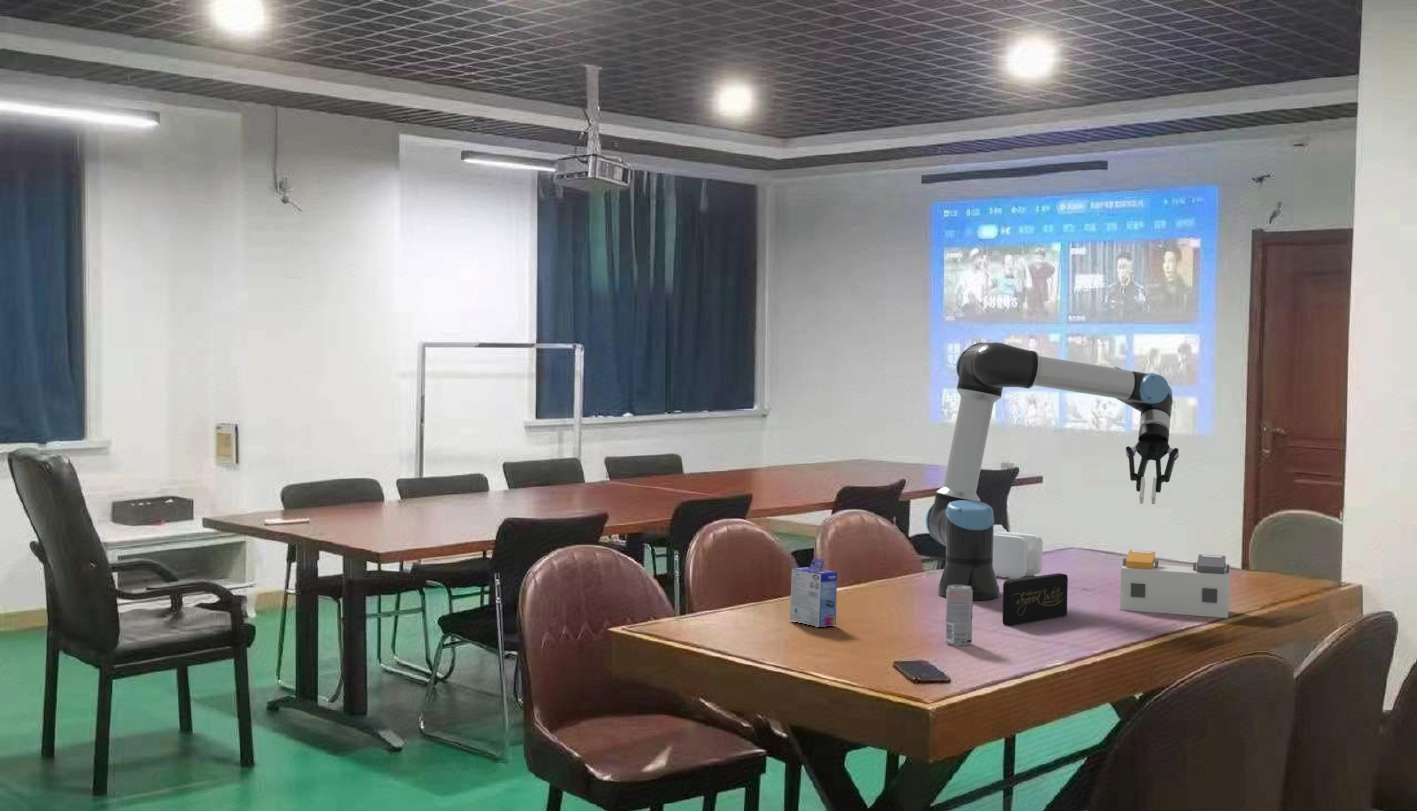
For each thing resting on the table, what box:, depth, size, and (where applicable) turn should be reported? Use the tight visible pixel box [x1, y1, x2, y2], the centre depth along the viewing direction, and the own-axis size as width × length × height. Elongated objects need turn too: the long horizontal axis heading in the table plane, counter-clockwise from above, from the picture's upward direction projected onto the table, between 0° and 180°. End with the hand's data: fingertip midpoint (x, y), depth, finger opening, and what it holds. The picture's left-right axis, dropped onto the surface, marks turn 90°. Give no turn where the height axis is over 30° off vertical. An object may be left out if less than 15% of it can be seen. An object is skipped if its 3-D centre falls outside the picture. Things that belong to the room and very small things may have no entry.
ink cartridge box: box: [789, 557, 838, 628], centre depth 302 cm, size 10×6×14 cm, turn 40°
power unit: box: [1119, 557, 1231, 619], centre depth 324 cm, size 10×24×12 cm, turn 67°
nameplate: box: [1002, 572, 1069, 627], centre depth 310 cm, size 21×2×10 cm, turn 129°
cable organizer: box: [993, 531, 1044, 580], centre depth 376 cm, size 15×11×12 cm
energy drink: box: [945, 585, 973, 647], centre depth 282 cm, size 5×5×12 cm
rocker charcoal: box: [1196, 553, 1227, 574], centre depth 321 cm, size 8×6×2 cm
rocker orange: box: [1126, 549, 1156, 569], centre depth 327 cm, size 8×6×2 cm
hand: (1147, 500), depth 340 cm, fingers open, 2 cm apart
